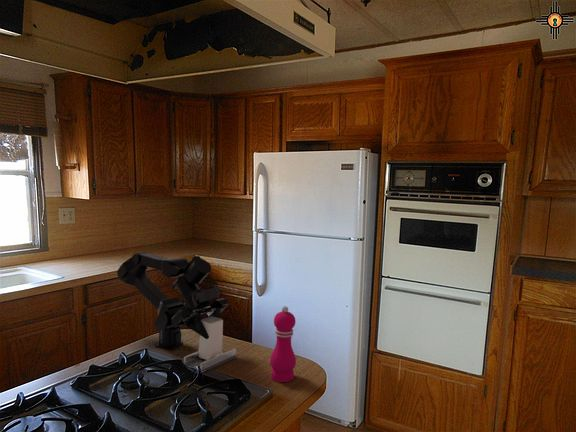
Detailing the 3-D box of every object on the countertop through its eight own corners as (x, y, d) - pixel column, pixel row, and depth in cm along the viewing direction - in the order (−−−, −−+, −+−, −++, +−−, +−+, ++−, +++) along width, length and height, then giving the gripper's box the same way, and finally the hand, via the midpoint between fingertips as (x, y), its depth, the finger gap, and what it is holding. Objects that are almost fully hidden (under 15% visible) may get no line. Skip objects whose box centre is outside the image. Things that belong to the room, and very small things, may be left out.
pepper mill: (298, 381, 107) (302, 309, 106) (273, 384, 104) (276, 310, 103) (290, 370, 113) (293, 302, 112) (266, 372, 111) (269, 303, 110)
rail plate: (183, 365, 114) (183, 355, 114) (217, 350, 125) (218, 341, 125) (202, 373, 109) (202, 362, 109) (236, 357, 121) (236, 347, 121)
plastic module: (198, 356, 117) (200, 319, 116) (211, 351, 121) (212, 315, 120) (209, 361, 114) (210, 323, 114) (221, 355, 118) (223, 319, 118)
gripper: (179, 282, 111) (205, 329, 105) (225, 273, 126) (250, 314, 120) (160, 304, 116) (184, 350, 110) (207, 292, 131) (230, 333, 125)
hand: (214, 335), depth 116 cm, fingers closed on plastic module, 5 cm apart
